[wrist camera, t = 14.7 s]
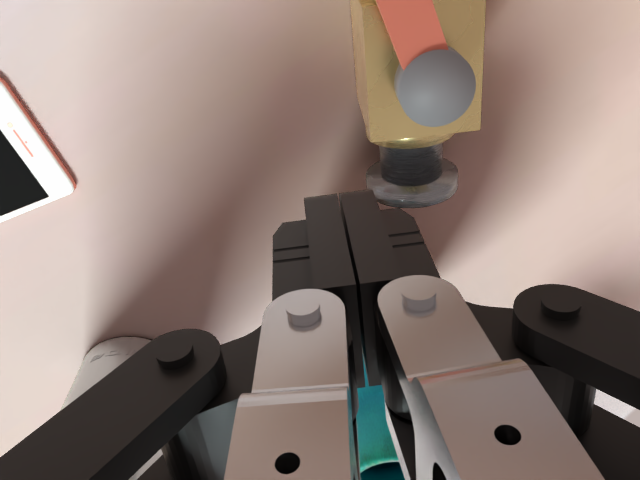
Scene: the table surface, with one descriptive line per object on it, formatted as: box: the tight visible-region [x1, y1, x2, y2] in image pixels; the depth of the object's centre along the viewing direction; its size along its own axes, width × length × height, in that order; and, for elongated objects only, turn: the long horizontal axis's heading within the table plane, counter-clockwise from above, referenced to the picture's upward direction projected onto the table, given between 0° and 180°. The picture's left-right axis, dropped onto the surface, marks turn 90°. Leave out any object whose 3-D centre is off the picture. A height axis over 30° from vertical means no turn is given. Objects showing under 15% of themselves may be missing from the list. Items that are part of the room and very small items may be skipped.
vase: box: [356, 353, 405, 480], centre depth 38 cm, size 11×11×19 cm
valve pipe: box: [350, 0, 486, 208], centre depth 33 cm, size 18×6×9 cm, turn 6°
